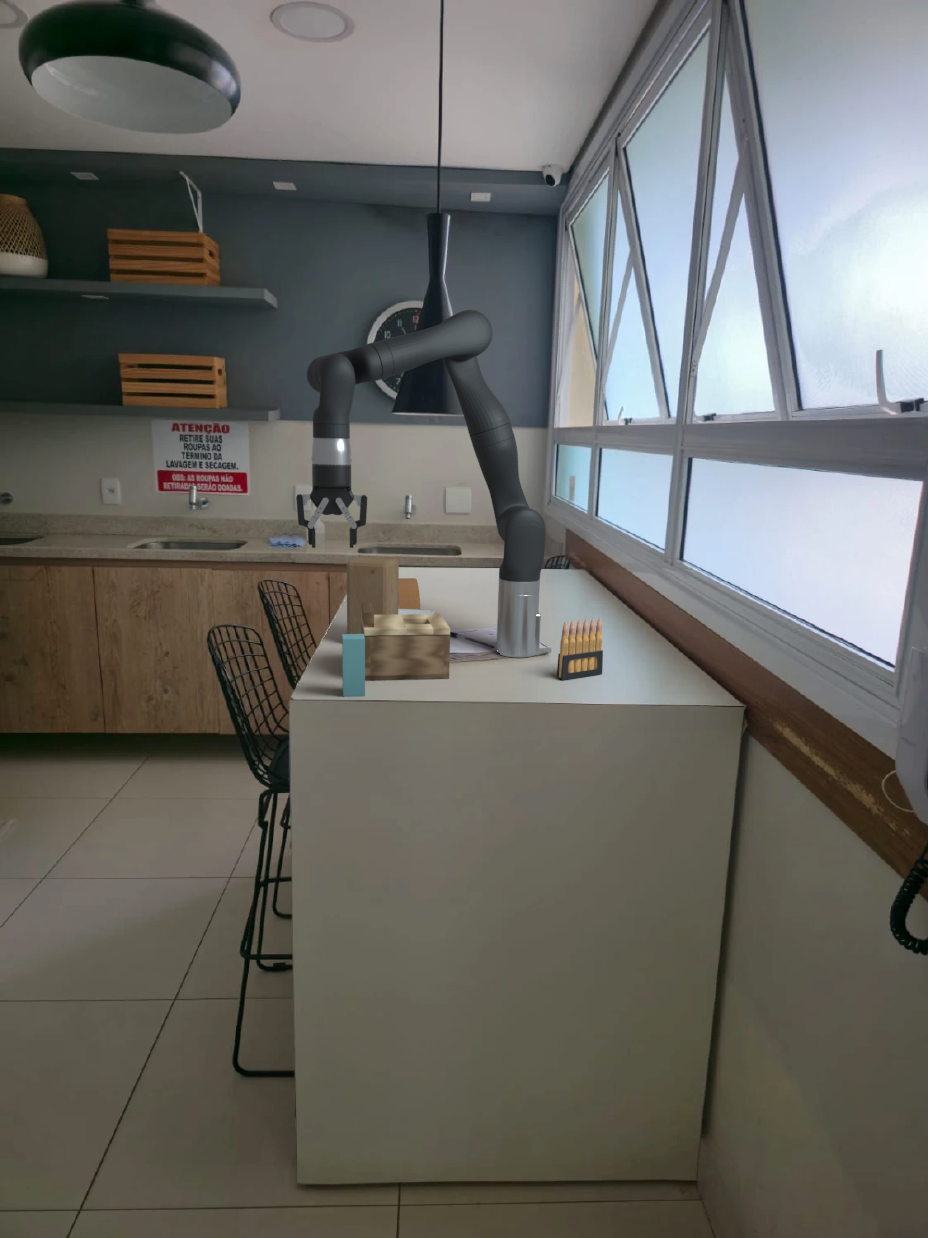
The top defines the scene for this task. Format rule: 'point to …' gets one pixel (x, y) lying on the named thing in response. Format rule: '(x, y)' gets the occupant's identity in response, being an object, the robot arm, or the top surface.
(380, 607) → the wooden block
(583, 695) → the top surface
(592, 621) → the ammunition clip
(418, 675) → the wooden box
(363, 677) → the teal block
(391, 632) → the lid
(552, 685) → the top surface
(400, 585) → the arch
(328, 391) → the robot arm
